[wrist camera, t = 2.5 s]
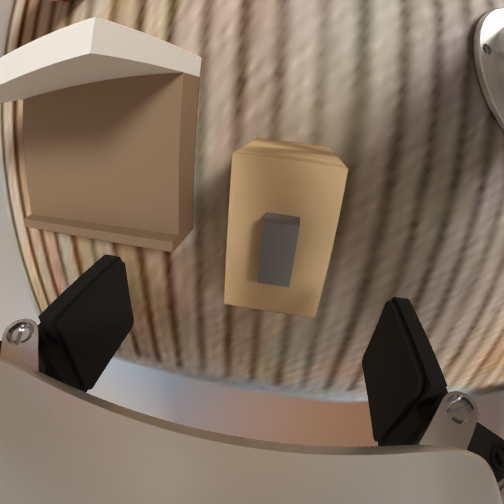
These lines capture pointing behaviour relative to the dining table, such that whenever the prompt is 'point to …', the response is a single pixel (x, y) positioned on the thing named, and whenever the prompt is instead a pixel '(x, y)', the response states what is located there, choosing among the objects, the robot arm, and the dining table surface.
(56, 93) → the brown and white stand
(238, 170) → the tan faceted wooden block
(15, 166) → the dining table surface
